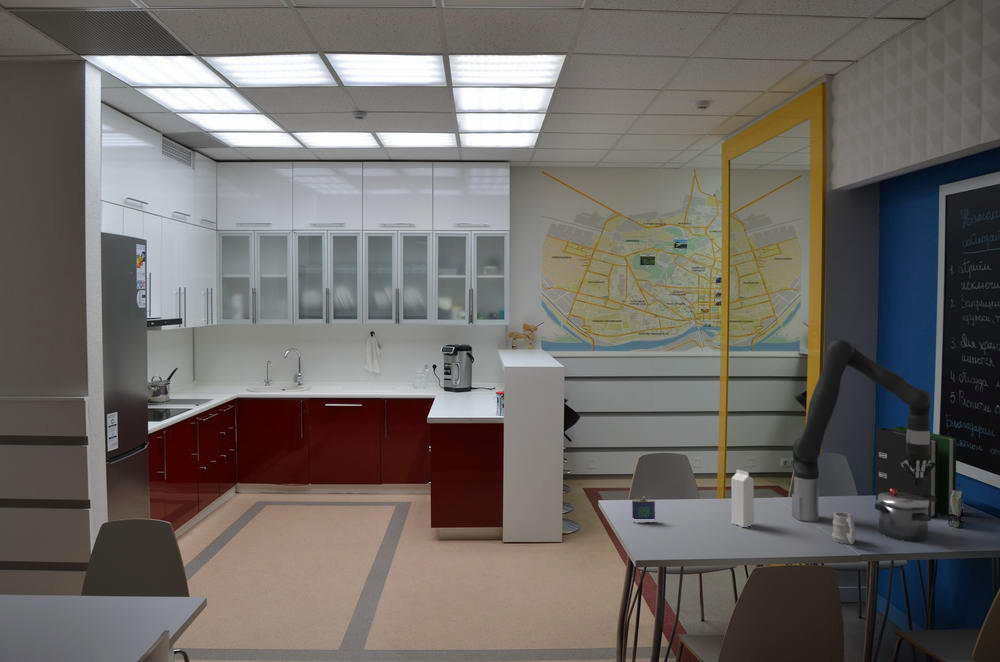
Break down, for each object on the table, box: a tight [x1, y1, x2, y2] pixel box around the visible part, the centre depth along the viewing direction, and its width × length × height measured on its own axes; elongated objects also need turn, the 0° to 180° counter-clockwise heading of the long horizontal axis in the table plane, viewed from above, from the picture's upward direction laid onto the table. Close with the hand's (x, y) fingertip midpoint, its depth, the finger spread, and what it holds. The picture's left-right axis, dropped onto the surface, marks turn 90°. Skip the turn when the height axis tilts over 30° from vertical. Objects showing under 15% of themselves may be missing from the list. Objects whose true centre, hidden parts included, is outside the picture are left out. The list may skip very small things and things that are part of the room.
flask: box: [631, 495, 656, 520], centre depth 269 cm, size 9×3×11 cm, turn 88°
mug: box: [831, 511, 856, 545], centre depth 243 cm, size 8×12×12 cm, turn 177°
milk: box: [731, 468, 755, 527], centre depth 264 cm, size 6×6×22 cm
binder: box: [875, 426, 957, 519], centre depth 281 cm, size 27×15×32 cm, turn 13°
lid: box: [877, 488, 936, 509], centre depth 250 cm, size 20×17×4 cm
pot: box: [874, 501, 932, 543], centre depth 250 cm, size 17×25×12 cm
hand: (917, 486), depth 250 cm, fingers closed
